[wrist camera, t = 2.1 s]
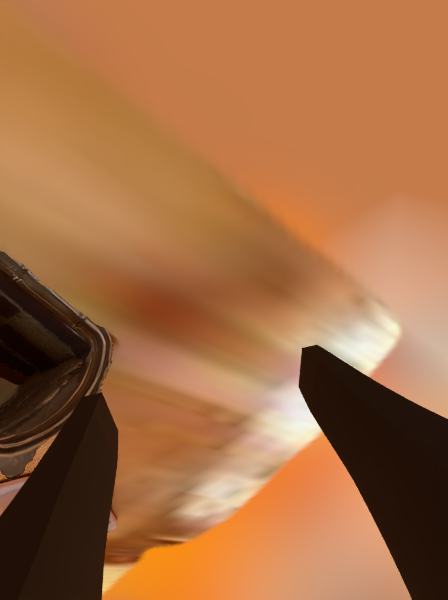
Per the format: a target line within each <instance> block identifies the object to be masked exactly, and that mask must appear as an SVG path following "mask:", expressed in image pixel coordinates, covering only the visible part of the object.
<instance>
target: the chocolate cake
mask: <svg viewBox="0 0 448 600" xmlns="http://www.w3.org/2000/svg"><path fill="white" fill-rule="evenodd" d="M38 281H39V280H38V278H37V277H35V276H34V275H33V274H32V272H31V271H29V270H28V269H27V268H26V267H25V266H24V265H23V264H21V263H19V262H17V261H15V260H13V259H11V258H10V257H9V256H8V255H7V254H6V253H5V252H0V362H1V363H4V364H6V365H8V366H9V367H10V368H11V369H14V370H17V371H19V372H21V373H23V374H24V375H25V376H26V380H25V382H24V383H22V384H20V385H16V384H13V383H11V382H9V381H7V380H5V379H3V378H0V471H1V473H2V474H3V475H5V476H6V477H7V478H10V479H13V478H16V477H18V476H19V475H20V474H22V473H23V472H24V470H25V466H26V464H28V463H29V462H30V461H32V460H33V458H32V457H34V456H35V454H36V450H37V449H38V448H39V447H40V445H42V444H43V443H45V442H46V441H47V440H48V439H50V438H51V437H52V436H54V435H57V434H58V433H59V432H60V430H61V429H62V427H63V426H64V424H65V423H66V421H67V419H68V418H69V416H70V415H71V413H72V412H73V410H74V408H75V407H76V405H77V404H78V402H79V401H80V399H81V398H82V397H83V396H88V395H92V394H97V393H100V391H101V389H99V388H100V386H102V381H103V380H104V378H106V375H107V372H108V369H109V367H110V365H111V363H112V361H111V357H112V350H113V348H112V347H113V344H112V343H113V341H112V339H111V338H110V334H108V330H107V329H105V328H103V327H100V326H98V325H96V324H94V323H93V322H92V321H91V320H90V319H89V318H88V317H86V316H85V315H84V314H82V313H81V312H79V311H77V310H76V309H75V308H74V307H72V306H71V305H70V304H69V303H68V302H66V301H65V300H63V299H62V298H61V297H60V296H59V295H58V294H57V293H56V292H54V291H53V290H51V289H49V288H47V287H46V286H43V285H41V284H40V283H39V282H38Z"/></svg>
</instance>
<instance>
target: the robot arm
mask: <svg viewBox="0 0 448 600" xmlns="http://www.w3.org/2000/svg"><path fill="white" fill-rule="evenodd" d="M299 389H300V391H301V393H302V395H303V397H304V399H305V402H306V404H307V406H308V408H309V410H310V412H311V413H312V415H313V417H314V418H315V420H316V421H317V423H318V425H319V426H320V428H321V429H322V431H323V432H324V434H325V436H326V437H327V439H328V440H329V442H330V443H331V445H332V447H333V448H334V450H335V451H336V452H337V454H338V456H339V458H340V459H341V461H342V462H343V464H344V465H345V467H346V469H347V470H348V472H349V474H350V475H351V477H352V479H353V480H354V482H355V484H356V486H357V488H358V490H359V492H360V494H361V495H362V497H363V499H364V501H365V503H366V505H367V507H368V509H369V511H370V513H371V514H372V517H373V519H374V521H375V523H376V525H377V527H378V529H379V531H380V533H381V534H382V537H383V538H384V540H385V543H386V545H387V547H388V549H389V551H390V553H391V555H392V557H393V559H394V561H395V564H396V566H397V568H398V570H399V572H400V574H401V576H402V579H403V581H404V583H405V585H406V587H407V589H408V591H409V594H410V596H411V598H412V600H448V419H446V418H444V417H442V416H440V415H438V414H436V413H434V412H432V411H430V410H428V409H426V408H423V407H422V406H419V405H417V404H416V403H414V402H412V401H410V400H408V399H406V398H404V397H403V396H401V395H399V394H397V393H395V392H394V391H392V390H390V389H388V388H386V387H385V386H383V385H381V384H380V383H378V382H376V381H374V380H373V379H371V378H369V377H368V376H366V375H365V374H363V373H361V372H360V371H358V370H356V369H355V368H353V367H352V366H350V365H349V364H347V363H345V362H344V361H342V360H341V359H339V358H338V357H336V356H334V355H333V354H331V353H330V352H328V351H327V350H325V349H323V348H322V347H320V346H318V345H314V346H309V347H305V348H302V355H301V366H300V377H299ZM117 459H118V429H117V427H116V425H115V422H114V420H113V418H112V415H111V413H110V411H109V408H108V406H107V403H106V401H105V399H104V396H103V394H102V392H101V393H97V394H92V395H88V396H83V397H82V398H81V399H80V401H79V402H78V404H77V405H76V407H75V408H74V410H73V412H72V413H71V415H70V416H69V418H68V419H67V421H66V423H65V424H64V426H63V427H62V429H61V430H60V432H59V433H58V435H57V437H56V438H55V440H54V441H53V443H52V444H51V446H50V447H49V449H48V450H47V451H46V453H45V454H44V456H43V457H42V459H41V460H40V462H39V463H38V465H37V466H36V468H35V469H34V471H33V472H32V473H31V475H30V476H28V477H24V478H20V479H16V480H12V481H9V482H5V483H1V484H0V600H102V584H103V568H104V557H105V548H106V540H107V533H108V531H111V530H114V529H115V528H116V527H117V520H116V518H115V517H114V515H113V513H112V511H111V505H112V498H113V491H114V484H115V477H116V469H117Z"/></svg>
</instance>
